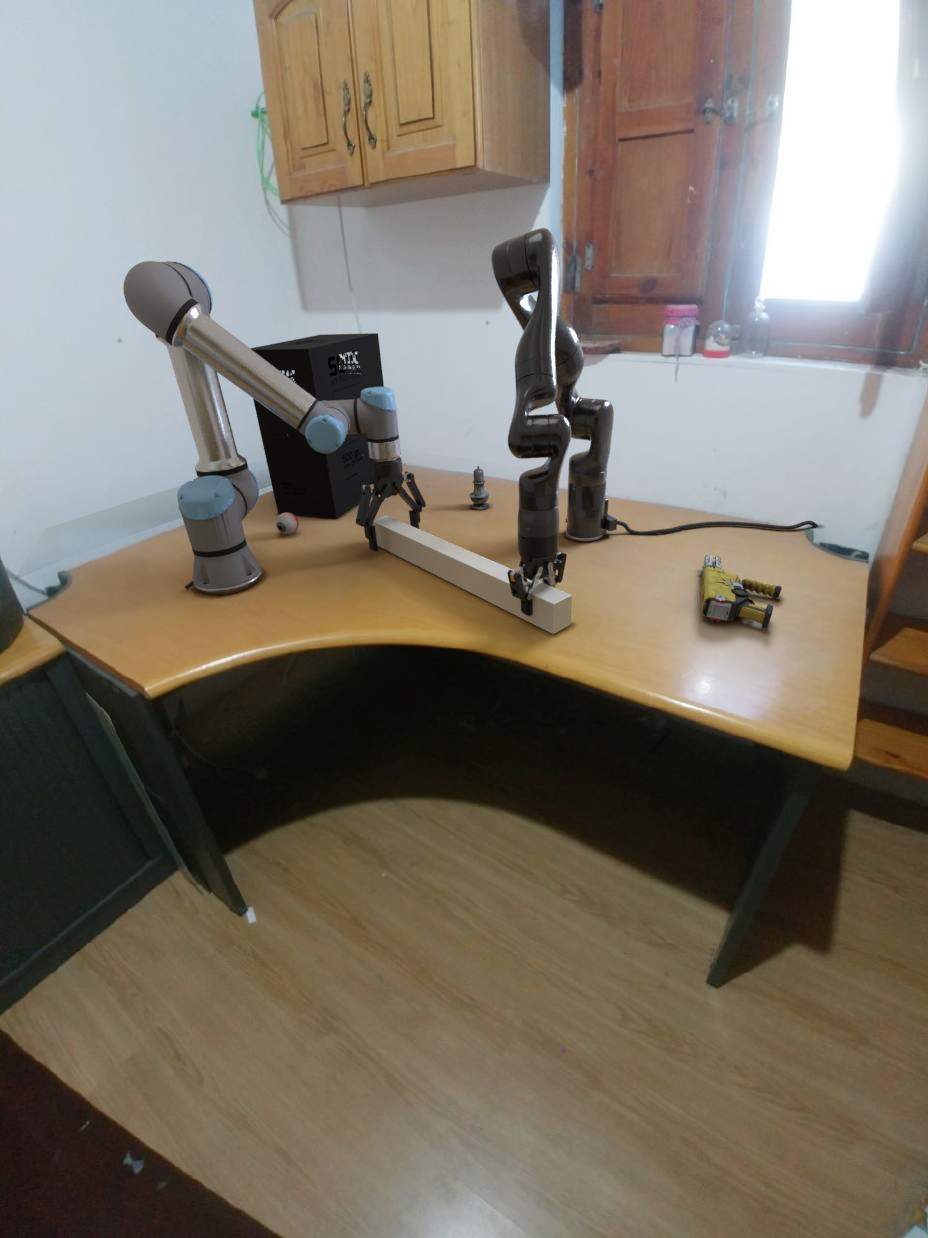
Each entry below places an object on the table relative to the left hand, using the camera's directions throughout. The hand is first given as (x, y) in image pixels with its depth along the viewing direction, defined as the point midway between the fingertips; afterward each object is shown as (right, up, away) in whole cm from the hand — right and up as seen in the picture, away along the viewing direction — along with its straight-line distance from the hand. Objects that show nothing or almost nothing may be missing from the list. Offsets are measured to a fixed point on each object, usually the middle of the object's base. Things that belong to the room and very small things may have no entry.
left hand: (395, 542), depth 153 cm
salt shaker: (+22, +14, +24) cm, 35 cm away
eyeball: (-30, +4, +12) cm, 33 cm away
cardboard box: (-22, +20, +39) cm, 49 cm away
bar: (+16, -10, -16) cm, 25 cm away
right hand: (+32, -17, -34) cm, 50 cm away
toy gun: (+73, -16, -32) cm, 81 cm away
